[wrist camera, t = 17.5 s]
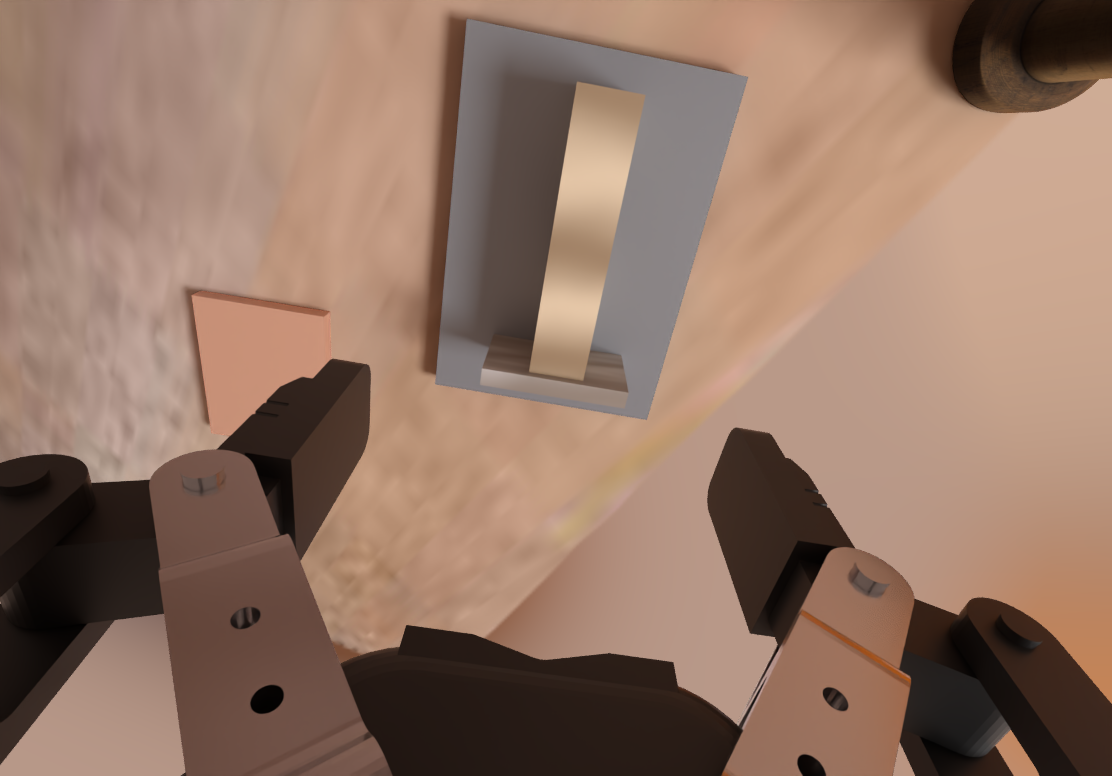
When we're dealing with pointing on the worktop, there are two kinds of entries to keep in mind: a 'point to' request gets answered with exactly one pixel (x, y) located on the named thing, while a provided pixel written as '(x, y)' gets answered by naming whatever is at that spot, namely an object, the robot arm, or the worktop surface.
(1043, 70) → the dark brown tall piece
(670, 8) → the worktop surface
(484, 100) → the board
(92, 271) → the worktop surface
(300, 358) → the tile
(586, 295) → the beige rectangular block
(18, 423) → the worktop surface
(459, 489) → the worktop surface
